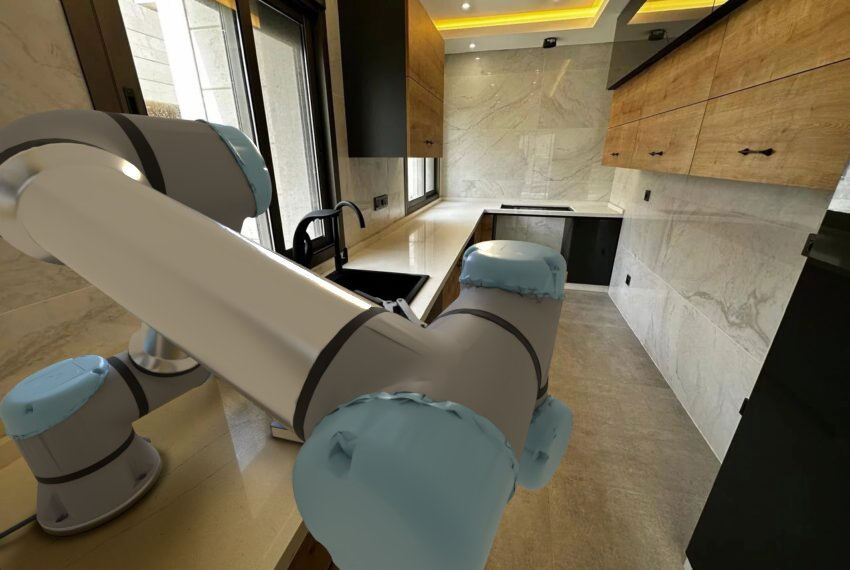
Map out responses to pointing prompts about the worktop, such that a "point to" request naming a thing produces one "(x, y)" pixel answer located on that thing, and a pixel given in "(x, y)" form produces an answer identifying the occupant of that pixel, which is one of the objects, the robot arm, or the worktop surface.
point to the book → (283, 432)
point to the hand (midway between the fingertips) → (318, 310)
